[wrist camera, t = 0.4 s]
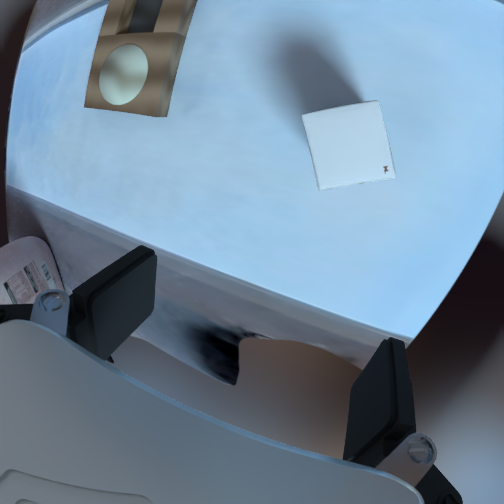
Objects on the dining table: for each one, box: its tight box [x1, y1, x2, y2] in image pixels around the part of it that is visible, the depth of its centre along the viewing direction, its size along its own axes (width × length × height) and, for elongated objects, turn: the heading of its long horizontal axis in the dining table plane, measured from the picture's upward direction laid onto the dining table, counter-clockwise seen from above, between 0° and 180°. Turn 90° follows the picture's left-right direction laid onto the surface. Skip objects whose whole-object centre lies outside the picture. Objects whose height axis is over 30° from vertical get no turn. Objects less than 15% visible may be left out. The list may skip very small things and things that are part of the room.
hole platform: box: [84, 0, 197, 117], centre depth 35 cm, size 24×16×3 cm, turn 166°
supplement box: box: [302, 100, 396, 191], centre depth 29 cm, size 7×7×13 cm
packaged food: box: [0, 236, 65, 305], centre depth 50 cm, size 22×20×30 cm
